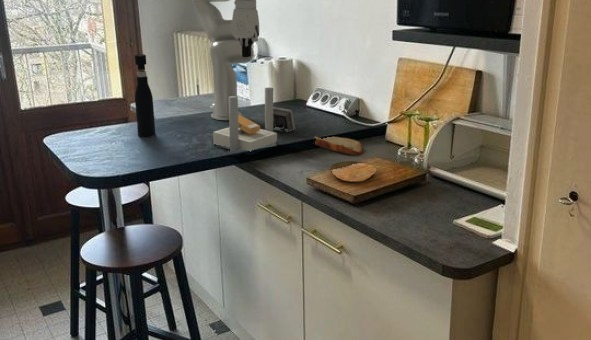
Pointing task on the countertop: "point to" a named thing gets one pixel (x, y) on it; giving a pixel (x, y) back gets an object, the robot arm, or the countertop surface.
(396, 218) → the countertop surface
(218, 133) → the grey shallow tray
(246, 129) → the rocker
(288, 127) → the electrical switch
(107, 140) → the countertop surface
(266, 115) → the tall grey block
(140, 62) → the wine bottle
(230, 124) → the post
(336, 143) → the bread slice
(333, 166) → the plant saucer
